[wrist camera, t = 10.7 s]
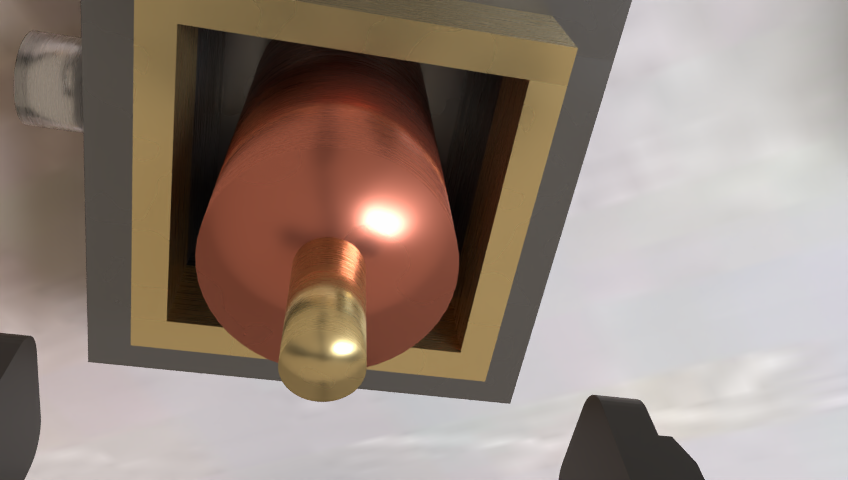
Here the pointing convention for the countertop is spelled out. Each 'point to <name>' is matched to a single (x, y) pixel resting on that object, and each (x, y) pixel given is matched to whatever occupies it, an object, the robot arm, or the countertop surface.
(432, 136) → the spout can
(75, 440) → the countertop surface
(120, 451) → the countertop surface
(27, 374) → the robot arm
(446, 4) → the grey drawer box
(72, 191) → the countertop surface
